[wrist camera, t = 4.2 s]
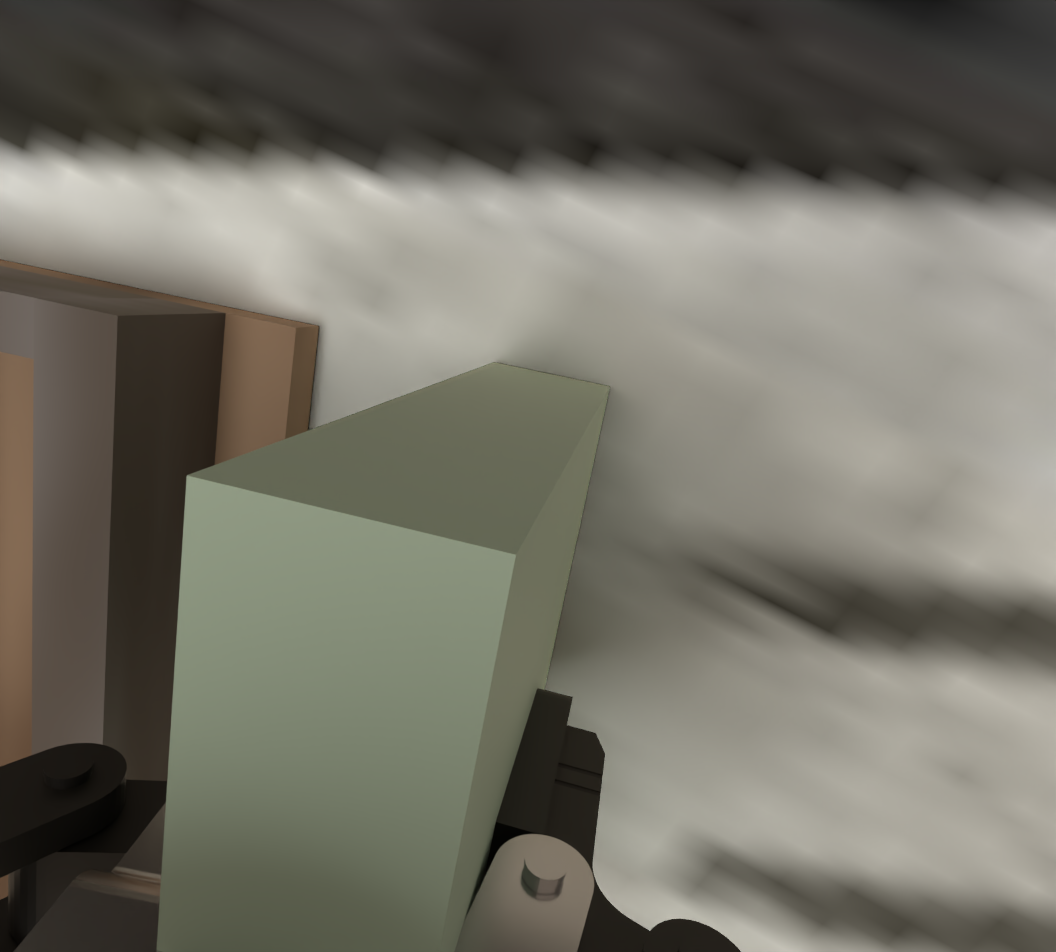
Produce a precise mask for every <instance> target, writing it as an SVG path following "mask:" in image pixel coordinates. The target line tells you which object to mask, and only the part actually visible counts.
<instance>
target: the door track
mask: <svg viewBox="0 0 1056 952" xmlns="http://www.w3.org/2000/svg"><path fill="white" fill-rule="evenodd" d="M318 330H319V326H316V325H311V324H307V323H302V322H297V321H292V320H287V319H283V318H278V317H273V316H268V315H263V314H259V313H254V312H249V311H244V310H239V309H235V308H230V307H225V306H220V305H215V304H211V303H206V302H201V301H196V300H191V299H187V298H182V297H177V296H172V295H168V294H163V293H158V292H153V291H148V290H144V289H139V288H134V287H129V286H124V285H120V284H115V283H110V282H105V281H100V280H96V279H91V278H86V277H81V276H76V275H72V274H67V273H62V272H57V271H52V270H48V269H43V268H38V267H33V266H28V265H24V264H19V263H14V262H9V261H4V260H0V767H1V766H3V765H6V764H9V763H12V762H14V761H17V760H20V759H23V758H25V757H28V756H31V755H34V754H36V753H39V752H42V751H45V750H47V749H51V748H54V747H57V746H62V745H66V744H73V743H96V744H102V745H106V746H109V747H111V748H113V749H115V750H117V751H118V752H119V753H121V754H122V755H123V757H124V758H125V761H126V764H127V773H126V780H153V781H167V778H168V762H169V746H170V731H171V715H172V699H173V684H174V668H175V652H176V636H177V621H178V605H179V589H180V573H181V558H182V542H183V526H184V510H185V495H186V479H187V475H189V474H192V473H195V472H197V471H200V470H203V469H205V468H208V467H211V466H214V465H216V464H219V463H222V462H224V461H227V460H230V459H233V458H235V457H238V456H241V455H243V454H246V453H249V452H252V451H254V450H257V449H260V448H262V447H265V446H268V445H271V444H273V443H276V442H279V441H281V440H284V439H287V438H290V437H292V436H295V435H298V434H300V433H303V432H306V431H308V424H309V414H310V405H311V396H312V386H313V377H314V368H315V358H316V349H317V340H318ZM7 896H8V875H6V876H4V877H1V878H0V900H1V899H3V898H5V897H7Z"/></svg>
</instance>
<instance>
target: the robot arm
mask: <svg viewBox="0 0 1056 952" xmlns="http://www.w3.org/2000/svg"><path fill="white" fill-rule="evenodd" d="M572 698H573V697H570V696H566V695H562V694H558V693H554V692H551V691H547V690H543V689H539V688H537V691H536V694H535V697H534V700H533V704H532V707H531V710H530V713H529V716H528V720H527V723H526V726H525V729H524V732H523V736H522V739H521V742H520V745H519V749H518V752H517V755H516V758H515V761H514V765H513V768H512V771H511V774H510V777H509V781H508V784H507V787H506V790H505V794H504V797H503V800H502V803H501V806H500V810H499V813H498V816H497V819H496V823H495V828H494V832H493V837H492V842H491V847H490V852H489V856H488V861H487V866H486V871H485V876H484V880H483V882H482V885H481V887H480V889H479V891H478V893H477V895H476V897H475V899H474V901H473V904H472V906H471V908H470V910H469V912H468V914H467V916H466V918H465V921H464V923H463V926H462V929H461V932H460V935H459V939H458V942H457V945H456V948H455V951H454V952H741V951H740V950H739V949H738V948H737V947H736V946H735V945H734V944H733V943H732V942H731V941H730V940H729V939H728V938H727V937H725V936H724V935H722V934H721V933H720V932H718V931H716V930H715V929H713V928H711V927H709V926H707V925H704V924H702V923H700V922H696V921H692V920H686V919H671V920H667V921H664V922H662V923H659V924H658V925H656V926H655V927H654V928H652V930H651V931H649V930H647V929H646V928H644V927H642V926H641V925H639V924H637V923H636V922H634V921H632V920H631V919H629V918H628V917H626V916H625V915H623V914H622V913H621V912H619V911H618V910H617V909H616V908H615V907H614V906H613V905H612V904H611V903H610V902H609V901H608V900H607V899H606V897H605V896H604V895H603V893H602V892H601V890H600V889H599V887H598V885H597V883H596V880H595V877H594V874H593V868H592V862H593V852H594V843H595V835H596V826H597V818H598V809H599V801H600V792H601V784H602V775H603V766H604V758H605V753H604V751H603V749H602V746H601V744H600V742H599V740H598V738H597V735H596V733H593V732H590V731H586V730H582V729H579V728H575V727H571V726H567V721H568V717H569V712H570V707H571V703H572ZM126 773H127V764H126V761H125V758H124V757H123V755H122V754H121V753H119V752H118V751H117V750H115V749H113V748H111V747H109V746H106V745H102V744H96V743H73V744H66V745H62V746H57V747H54V748H51V749H47V750H45V751H42V752H39V753H36V754H34V755H31V756H28V757H25V758H23V759H20V760H17V761H14V762H12V763H9V764H6V765H3V766H1V767H0V878H1V877H4V876H6V875H8V896H7V897H5V898H3V899H1V900H0V952H162V951H159V950H157V935H158V920H159V904H160V888H161V872H162V857H163V841H164V825H165V809H166V794H167V781H153V780H126Z"/></svg>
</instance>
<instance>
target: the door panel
mask: <svg viewBox="0 0 1056 952" xmlns="http://www.w3.org/2000/svg"><path fill="white" fill-rule="evenodd" d="M609 390H610V386H606V385H601V384H596V383H591V382H587V381H582V380H577V379H572V378H567V377H563V376H558V375H553V374H548V373H543V372H539V371H534V370H529V369H524V368H520V367H515V366H510V365H505V364H500V363H496V362H493V363H490V364H488V365H485V366H482V367H479V368H477V369H474V370H471V371H469V372H466V373H463V374H460V375H458V376H455V377H452V378H450V379H447V380H444V381H442V382H439V383H436V384H433V385H431V386H428V387H425V388H423V389H420V390H417V391H414V392H412V393H409V394H406V395H404V396H401V397H398V398H395V399H393V400H390V401H387V402H385V403H382V404H379V405H376V406H374V407H371V408H368V409H366V410H363V411H360V412H357V413H355V414H352V415H349V416H347V417H344V418H341V419H338V420H336V421H333V422H330V423H328V424H325V425H322V426H319V427H317V428H314V429H311V430H309V431H306V432H303V433H300V434H298V435H295V436H292V437H290V438H287V439H284V440H281V441H279V442H276V443H273V444H271V445H268V446H265V447H262V448H260V449H257V450H254V451H252V452H249V453H246V454H243V455H241V456H238V457H235V458H233V459H230V460H227V461H224V462H222V463H219V464H216V465H214V466H211V467H208V468H205V469H203V470H200V471H197V472H195V473H192V474H189V475H187V479H186V495H185V510H184V526H183V542H182V558H181V573H180V589H179V605H178V621H177V636H176V652H175V668H174V684H173V699H172V715H171V731H170V746H169V762H168V778H167V794H166V809H165V825H164V841H163V857H162V872H161V888H160V904H159V920H158V935H157V950H159V951H162V952H454V951H455V948H456V945H457V942H458V939H459V935H460V932H461V929H462V926H463V923H464V921H465V918H466V916H467V914H468V912H469V910H470V908H471V906H472V904H473V901H474V899H475V897H476V895H477V893H478V891H479V889H480V887H481V885H482V882H483V880H484V876H485V871H486V866H487V861H488V856H489V852H490V847H491V842H492V837H493V832H494V828H495V823H496V819H497V816H498V813H499V810H500V806H501V803H502V800H503V797H504V794H505V790H506V787H507V784H508V781H509V777H510V774H511V771H512V768H513V765H514V761H515V758H516V755H517V752H518V749H519V745H520V742H521V739H522V736H523V732H524V729H525V726H526V723H527V720H528V716H529V713H530V710H531V707H532V704H533V700H534V697H535V694H536V691H537V688H539V689H543V690H545V685H546V681H547V676H548V671H549V667H550V662H551V658H552V653H553V648H554V644H555V639H556V634H557V630H558V625H559V621H560V616H561V611H562V607H563V602H564V598H565V593H566V588H567V584H568V579H569V574H570V570H571V565H572V561H573V556H574V551H575V547H576V542H577V538H578V533H579V528H580V524H581V519H582V515H583V510H584V505H585V501H586V496H587V491H588V487H589V482H590V478H591V473H592V468H593V464H594V459H595V455H596V450H597V445H598V441H599V436H600V431H601V427H602V422H603V418H604V413H605V408H606V404H607V399H608V395H609Z"/></svg>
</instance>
